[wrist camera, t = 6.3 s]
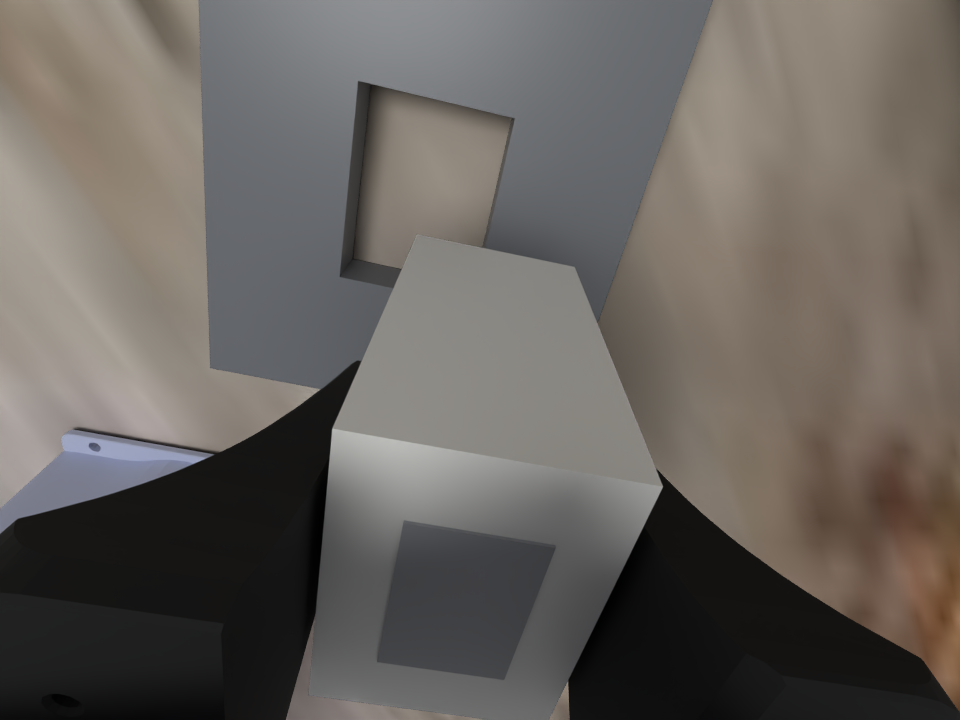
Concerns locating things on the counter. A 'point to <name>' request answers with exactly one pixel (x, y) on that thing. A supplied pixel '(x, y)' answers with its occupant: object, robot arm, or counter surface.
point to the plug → (476, 492)
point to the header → (341, 137)
